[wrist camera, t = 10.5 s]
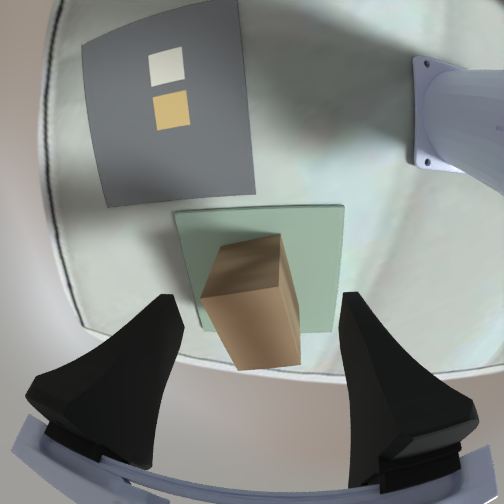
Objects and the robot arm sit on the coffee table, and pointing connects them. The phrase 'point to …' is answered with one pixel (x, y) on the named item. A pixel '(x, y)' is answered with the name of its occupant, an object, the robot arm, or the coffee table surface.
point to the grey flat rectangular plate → (170, 107)
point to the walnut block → (254, 304)
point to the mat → (295, 243)
